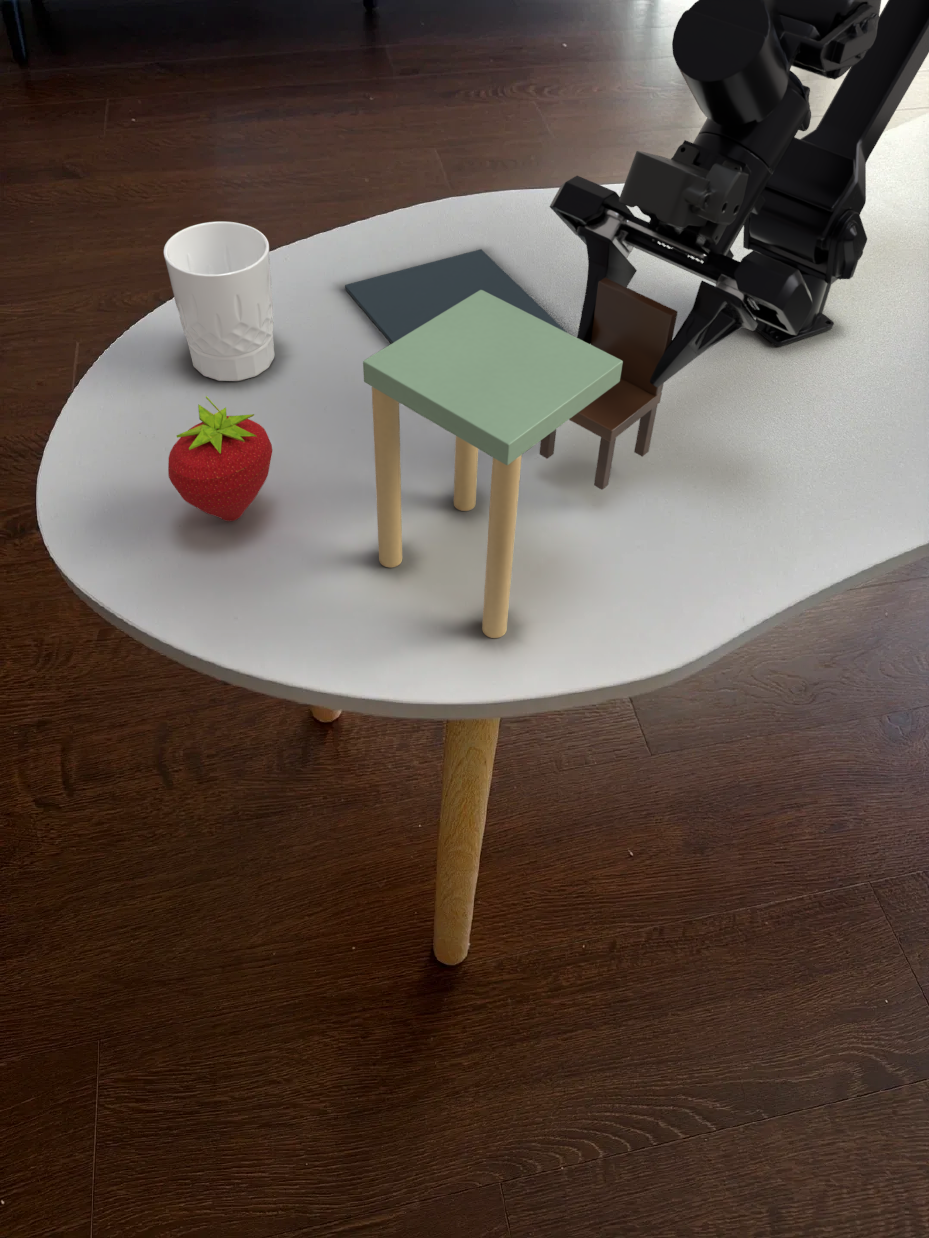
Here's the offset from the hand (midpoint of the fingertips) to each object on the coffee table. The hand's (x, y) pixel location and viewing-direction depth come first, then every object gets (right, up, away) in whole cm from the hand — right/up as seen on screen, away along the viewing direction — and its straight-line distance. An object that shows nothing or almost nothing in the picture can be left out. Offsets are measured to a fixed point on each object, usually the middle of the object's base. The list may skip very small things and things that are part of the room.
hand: (615, 366), depth 76 cm
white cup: (-30, +4, +15) cm, 33 cm away
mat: (-11, +8, +19) cm, 23 cm away
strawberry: (-27, -10, +2) cm, 29 cm away
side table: (-9, -14, 0) cm, 16 cm away
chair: (-1, -5, +5) cm, 7 cm away
